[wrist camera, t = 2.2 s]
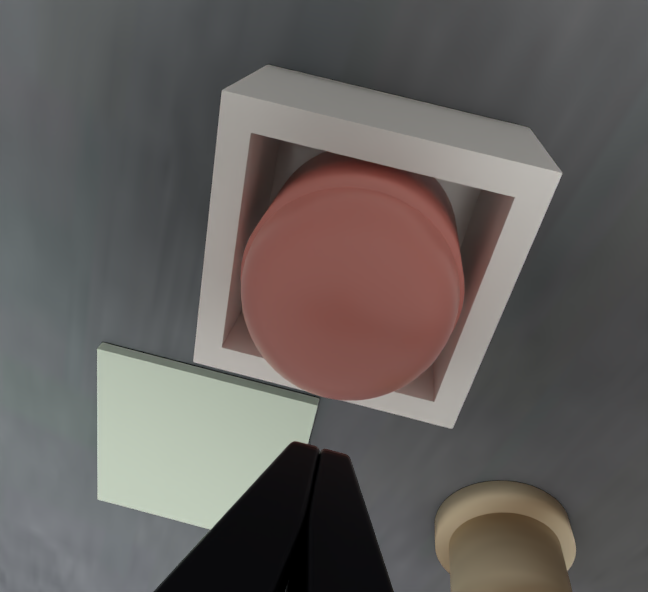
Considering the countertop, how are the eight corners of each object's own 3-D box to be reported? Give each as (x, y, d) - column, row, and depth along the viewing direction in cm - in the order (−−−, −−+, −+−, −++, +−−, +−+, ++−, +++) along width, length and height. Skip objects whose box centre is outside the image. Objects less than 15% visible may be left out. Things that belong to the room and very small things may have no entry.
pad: (319, 398, 20) (317, 405, 20) (282, 540, 24) (280, 548, 24) (102, 342, 20) (97, 348, 20) (102, 492, 24) (97, 499, 24)
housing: (529, 127, 15) (562, 173, 11) (446, 343, 18) (452, 429, 15) (267, 64, 15) (221, 90, 11) (235, 290, 18) (193, 362, 15)
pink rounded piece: (483, 172, 14) (515, 269, 9) (425, 336, 16) (427, 477, 12) (286, 124, 14) (220, 195, 9) (258, 293, 17) (194, 416, 12)
